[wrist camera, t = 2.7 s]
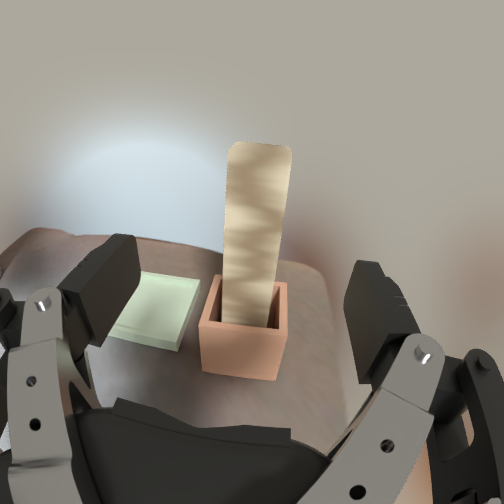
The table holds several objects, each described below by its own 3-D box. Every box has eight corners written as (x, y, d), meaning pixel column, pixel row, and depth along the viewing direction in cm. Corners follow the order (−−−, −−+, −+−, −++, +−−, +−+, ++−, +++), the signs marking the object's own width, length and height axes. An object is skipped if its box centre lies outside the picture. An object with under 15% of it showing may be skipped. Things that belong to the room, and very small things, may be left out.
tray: (74, 325, 28) (70, 316, 28) (111, 275, 38) (109, 266, 37) (177, 351, 28) (176, 342, 27) (200, 289, 37) (200, 280, 36)
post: (221, 356, 27) (228, 150, 17) (227, 329, 30) (237, 141, 20) (260, 361, 27) (292, 156, 17) (262, 333, 30) (289, 146, 20)
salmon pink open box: (202, 371, 26) (198, 325, 22) (215, 321, 32) (215, 274, 29) (275, 380, 26) (287, 336, 22) (277, 329, 32) (286, 282, 29)
